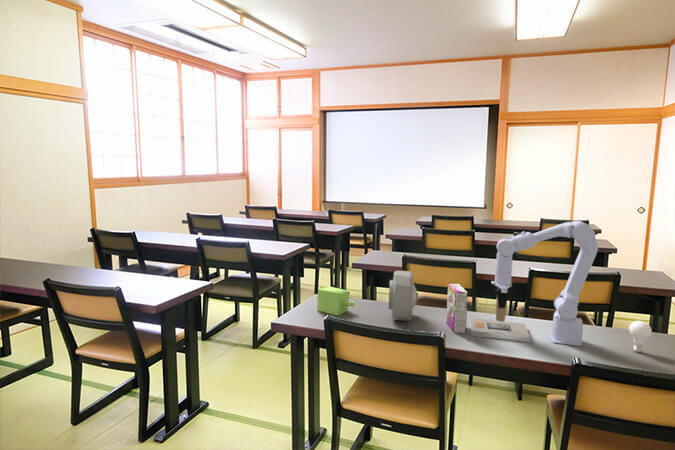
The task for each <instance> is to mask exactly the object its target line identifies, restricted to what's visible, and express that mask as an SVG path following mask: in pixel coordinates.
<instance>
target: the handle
mask: <svg viewBox="0 0 675 450" xmlns="http://www.w3.org/2000/svg"><path fill="white" fill-rule="evenodd" d="M494 283H496V282H495V280H494ZM494 285H495V284H493V286H494ZM508 285H510V287H509V289H510V288H511V287H513V282H512V281H511V284H508ZM495 286H496V285H495ZM496 287H497V288H498V289H500V290H501V288H499V287H498V286H496ZM507 307H508V302H507V303H506V306H505V309H503V308H499V307H498V298H497V297H496V300H495V309H494V310H495V321H500V322H501V321H504V322H506V320H505V319H506V317H507V316H506V315H507Z"/></svg>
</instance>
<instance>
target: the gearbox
mask: <svg viewBox="0 0 675 450" xmlns="http://www.w3.org/2000/svg"><path fill="white" fill-rule="evenodd" d="M317 293H318V294H317V295H316V300H317V309H316V310H317V311H319V312H322V313H326V314H330V315H333V316H334V315H335V316H340V315H342V314H344V313H346V312H348V310H349V307H355V301H353V300H352V301H351V300H349V297H350V296H349V295H350V291H349V290H348V289H342V288H338V287H333V286H326V287H322V288H319V289H318V292H317Z"/></svg>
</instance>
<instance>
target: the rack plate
mask: <svg viewBox="0 0 675 450" xmlns="http://www.w3.org/2000/svg"><path fill="white" fill-rule="evenodd" d="M470 326H471V327H470V329H471V336H472V337H480V338H488V339H496V340H504V341H513V342H514V341H515V342H523V343H530V342H531V336H530V334H529V332H528V328H527V326H526V324H525V323H521V322H520V323H519V322H512V321H511V322H510V321H501V322H500V321H497V320H494V319H485V318H473V317H471V318H470ZM496 329H497V330H496ZM498 329H499V330H498ZM507 330H508V331H507Z"/></svg>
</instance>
